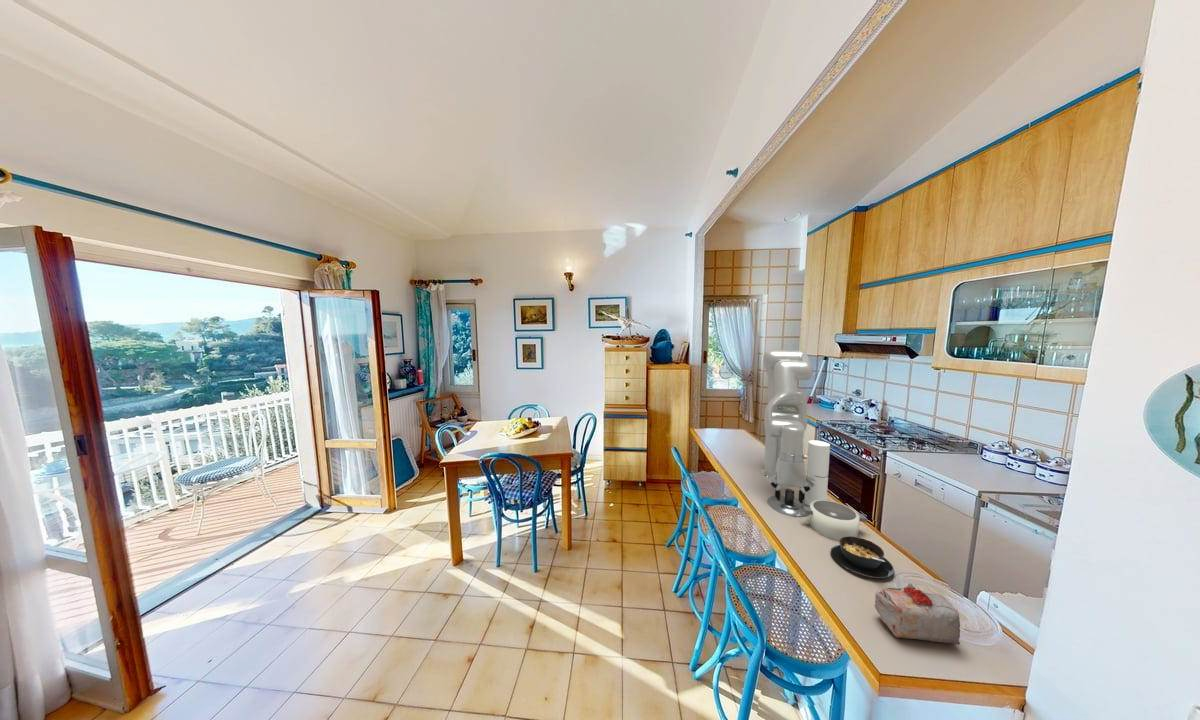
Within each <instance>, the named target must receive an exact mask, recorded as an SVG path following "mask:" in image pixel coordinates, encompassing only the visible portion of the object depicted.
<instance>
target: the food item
mask: <svg viewBox="0 0 1200 720" xmlns="http://www.w3.org/2000/svg"><path fill="white" fill-rule="evenodd" d="M874 593H875V598H874V600H875V603H874V608H875V610H876V612H877V613H878V615H879V617H880V619H881V620H882V622H883V623H884V624H886V627H888V629H889V630H890V631H891V633H892V634H893V635H894V637H896V638H897V639H898V638H899V639H909V640H910V639H911V640H920V641H928V642H929V641H930V642H934V643H945V644H952V645H960V644H961V641H960V638H961V629H960V628H961V621H960V619H961V618H960V612H959V611H958V610H957V608H954V606H953V605H952V603H951V602H950V601H949V600H947V599H946V597H944V596H943V595H942V594H939V593H938V594H937V593H930V592H929V593H928V592H923V591H922V590H920V589H916V587H914V586H913V584H912V583H908V584H907V585H906V587H903V588H900V587H887V588H882V589H881V590H880V591H879V590H877V591H875V592H874Z"/></svg>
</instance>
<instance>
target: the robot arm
mask: <svg viewBox="0 0 1200 720" xmlns="http://www.w3.org/2000/svg"><path fill="white" fill-rule="evenodd" d="M762 361H763V366H764V369H765V372H766V375H767V400H768V401H767V402H768V403H767V404H766V406H765V410H764V417H763V418H764V419H763V420H764V432H765V442H764V445H765V447H764V466H763V467H762V468H763V469H762V468H760V473H761V472H762V473H763V474H764V475H766V476H768V477H766V476H765V477H766V480H767V481H768V482H769V484H770V485H771V486H772V487H773V489H774V496H775V497H776V498H777V500H778V501H779V500H780V496H781V490H780V489H781V487H782V486H785V487H794V488H799V490H798V500H799V501H800V503H801V504H803V502H804V501H805V495H806V492H807V491H809V490H810V488H812V487H813V486H814V483H813V482H812V481H810V480H809V479H808V478H807V469H806V464H805V463H806V462H805V461H804V460H807V459H808V454H804V442H805V441H804V440H805V431H806V429H807V427H808V400H807V399H808V397H807V394H806V392H805V390H803V388H800V387H798V381H809V380H811V379H812V377H813V374H814V370H813V365H812V363H811V360H810V358H809V356H808V355H807V353H806V352H805V350H804V351H803V350H791V349H790V350H789V349H774V350H773V349H772V350H767V351H766V352H765V353H764V354H763V360H762ZM775 408H785V409H786V408H787V409H794V410H785V409H784V410H781V409H775ZM762 473H761V474H762ZM763 474H762V475H763ZM764 475H763V476H764ZM773 480H775V481H776V483H775V482H774V481H773ZM806 482H807V483H808V485H806Z"/></svg>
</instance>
